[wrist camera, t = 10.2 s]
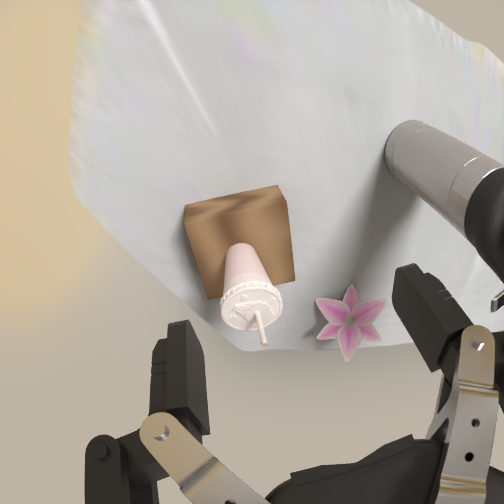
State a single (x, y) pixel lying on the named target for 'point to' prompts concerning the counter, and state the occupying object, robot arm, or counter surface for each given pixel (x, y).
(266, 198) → the walnut block
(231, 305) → the smoothie
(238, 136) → the counter surface
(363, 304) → the lily
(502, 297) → the cell phone
